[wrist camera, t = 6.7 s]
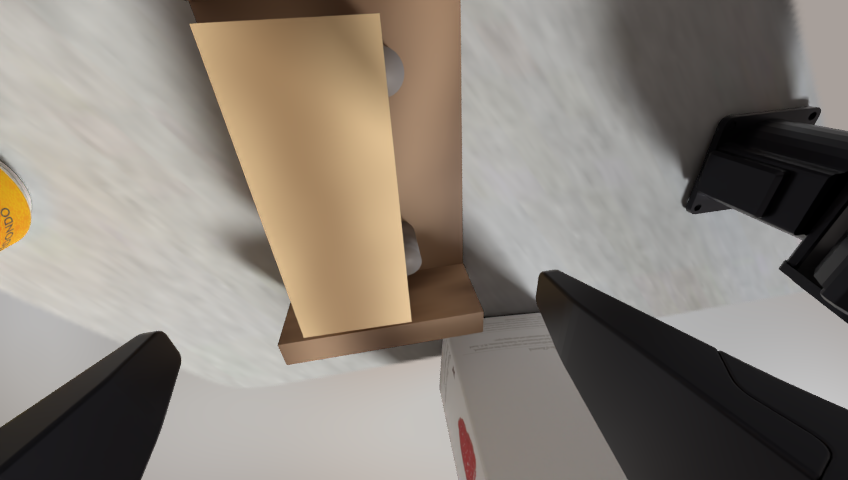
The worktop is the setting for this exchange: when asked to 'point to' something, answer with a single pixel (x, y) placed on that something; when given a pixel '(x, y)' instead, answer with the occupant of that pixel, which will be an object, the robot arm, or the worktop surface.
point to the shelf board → (317, 160)
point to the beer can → (13, 208)
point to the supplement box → (518, 407)
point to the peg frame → (401, 165)
